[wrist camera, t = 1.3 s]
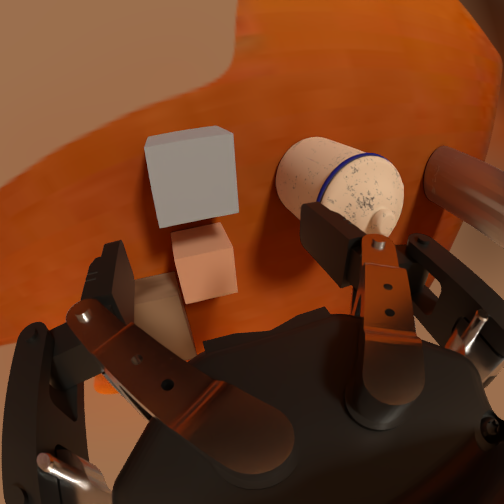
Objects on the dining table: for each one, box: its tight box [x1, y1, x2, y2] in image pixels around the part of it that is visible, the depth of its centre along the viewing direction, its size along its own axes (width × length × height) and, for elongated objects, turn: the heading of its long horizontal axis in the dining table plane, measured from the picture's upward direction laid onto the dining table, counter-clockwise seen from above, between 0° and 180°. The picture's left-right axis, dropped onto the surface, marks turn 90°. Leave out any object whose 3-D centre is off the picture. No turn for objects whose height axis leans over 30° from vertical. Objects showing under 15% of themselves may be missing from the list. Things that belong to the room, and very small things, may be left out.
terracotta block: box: [171, 223, 238, 304], centre depth 26 cm, size 5×5×5 cm
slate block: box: [144, 126, 239, 228], centre depth 21 cm, size 6×6×6 cm
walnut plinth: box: [134, 271, 197, 360], centre depth 28 cm, size 10×10×4 cm
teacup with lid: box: [276, 137, 404, 237], centre depth 23 cm, size 12×9×12 cm
